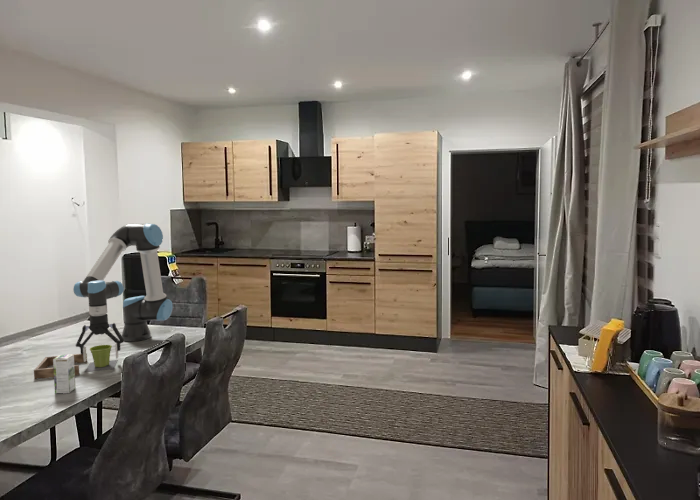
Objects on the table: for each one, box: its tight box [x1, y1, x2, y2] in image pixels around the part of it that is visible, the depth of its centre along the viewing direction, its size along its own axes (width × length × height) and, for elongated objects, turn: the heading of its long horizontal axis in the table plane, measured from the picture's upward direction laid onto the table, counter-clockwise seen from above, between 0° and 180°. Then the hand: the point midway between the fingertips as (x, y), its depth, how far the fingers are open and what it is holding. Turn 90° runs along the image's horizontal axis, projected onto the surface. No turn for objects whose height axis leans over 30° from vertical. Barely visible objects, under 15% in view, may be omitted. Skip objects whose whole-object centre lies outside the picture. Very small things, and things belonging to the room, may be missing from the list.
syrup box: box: [52, 353, 76, 395], centre depth 210 cm, size 6×6×14 cm
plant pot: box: [89, 344, 112, 367], centre depth 243 cm, size 9×9×9 cm
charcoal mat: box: [84, 359, 118, 373], centre depth 243 cm, size 12×14×1 cm
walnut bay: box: [33, 352, 88, 380], centre depth 238 cm, size 17×20×4 cm
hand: (101, 359), depth 243 cm, fingers open, 13 cm apart
